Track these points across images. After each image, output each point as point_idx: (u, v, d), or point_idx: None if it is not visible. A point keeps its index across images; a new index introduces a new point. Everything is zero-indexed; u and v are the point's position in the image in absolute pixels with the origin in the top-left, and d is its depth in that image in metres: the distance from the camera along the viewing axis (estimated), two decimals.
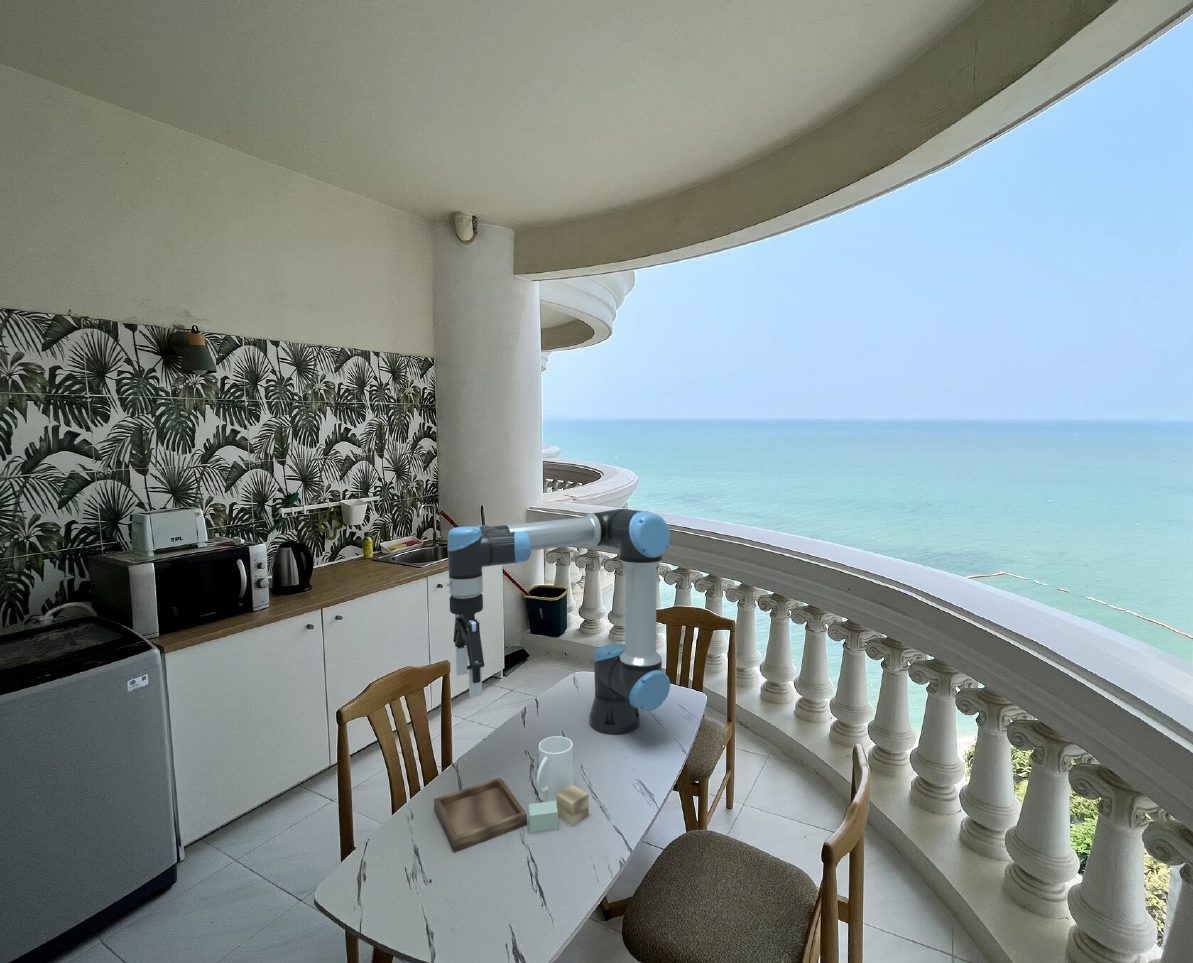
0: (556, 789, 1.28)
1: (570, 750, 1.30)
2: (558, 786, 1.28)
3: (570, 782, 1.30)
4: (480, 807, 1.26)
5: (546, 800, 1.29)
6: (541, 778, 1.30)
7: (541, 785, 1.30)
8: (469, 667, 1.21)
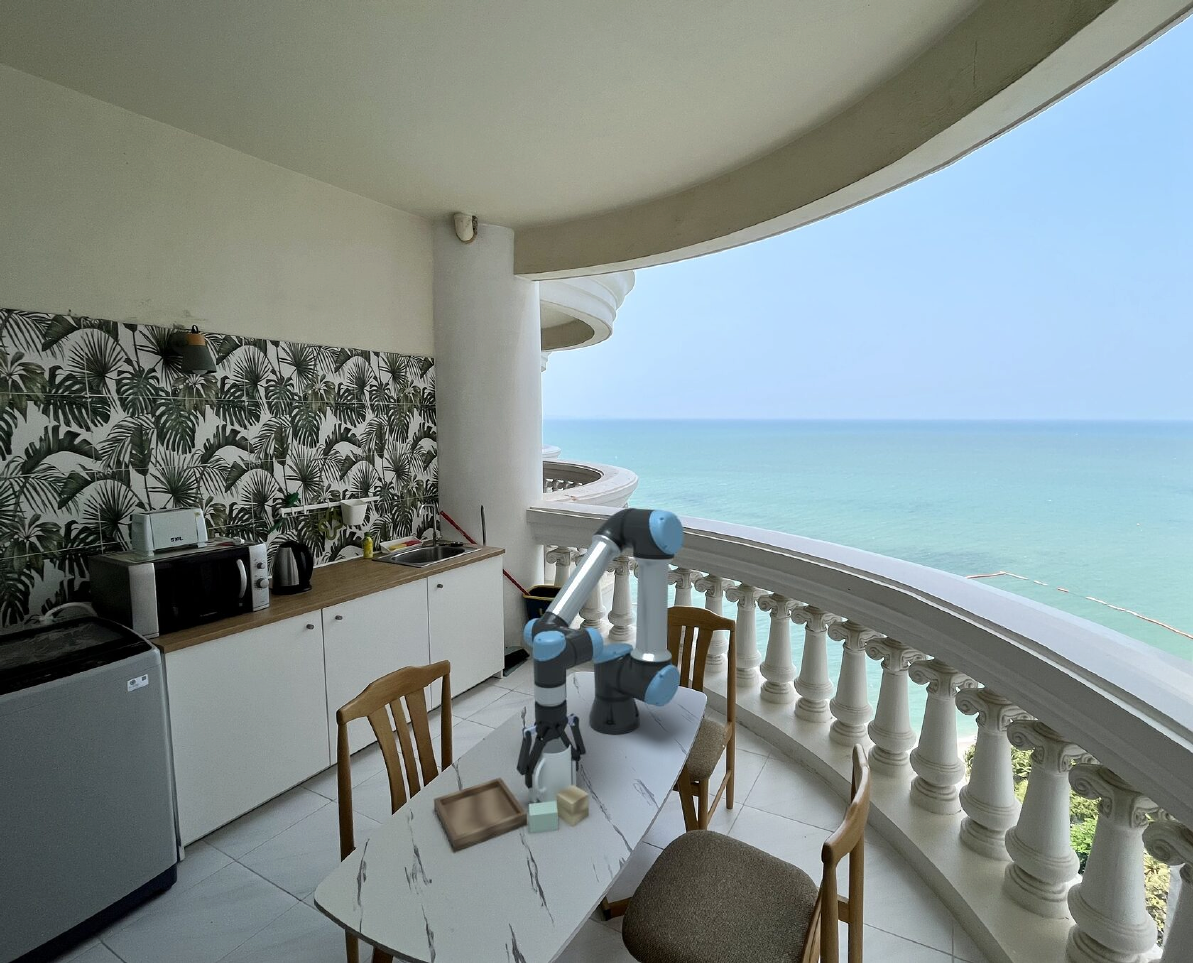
0: (555, 790, 1.28)
1: (568, 751, 1.30)
2: (556, 787, 1.28)
3: (568, 783, 1.30)
4: (480, 807, 1.26)
5: (544, 801, 1.28)
6: (539, 779, 1.30)
7: (539, 786, 1.30)
8: None
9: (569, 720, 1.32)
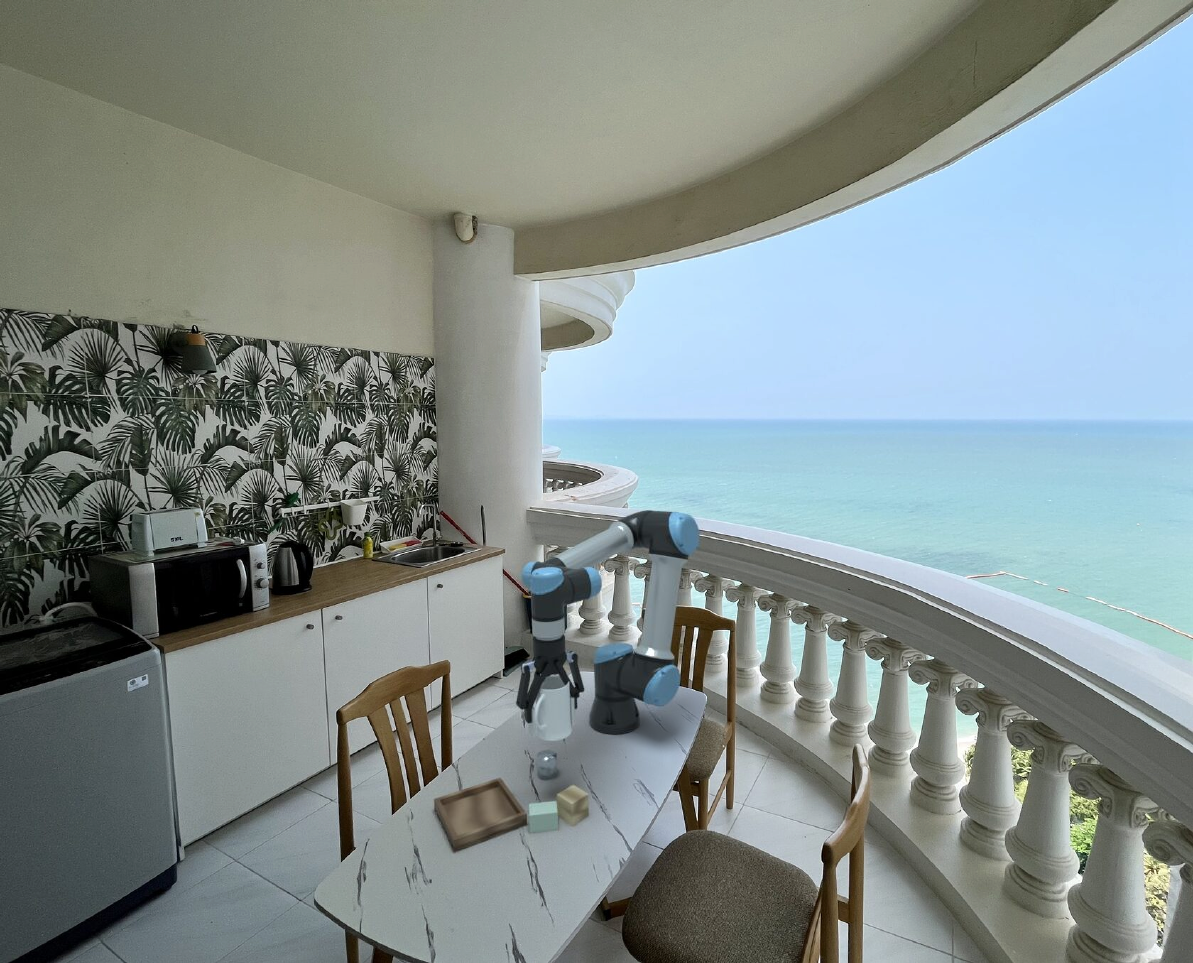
0: (554, 726, 1.27)
1: (567, 687, 1.29)
2: (556, 722, 1.27)
3: (568, 719, 1.29)
4: (480, 807, 1.26)
5: (544, 737, 1.28)
6: (538, 716, 1.29)
7: (538, 723, 1.29)
8: None
9: (568, 657, 1.32)
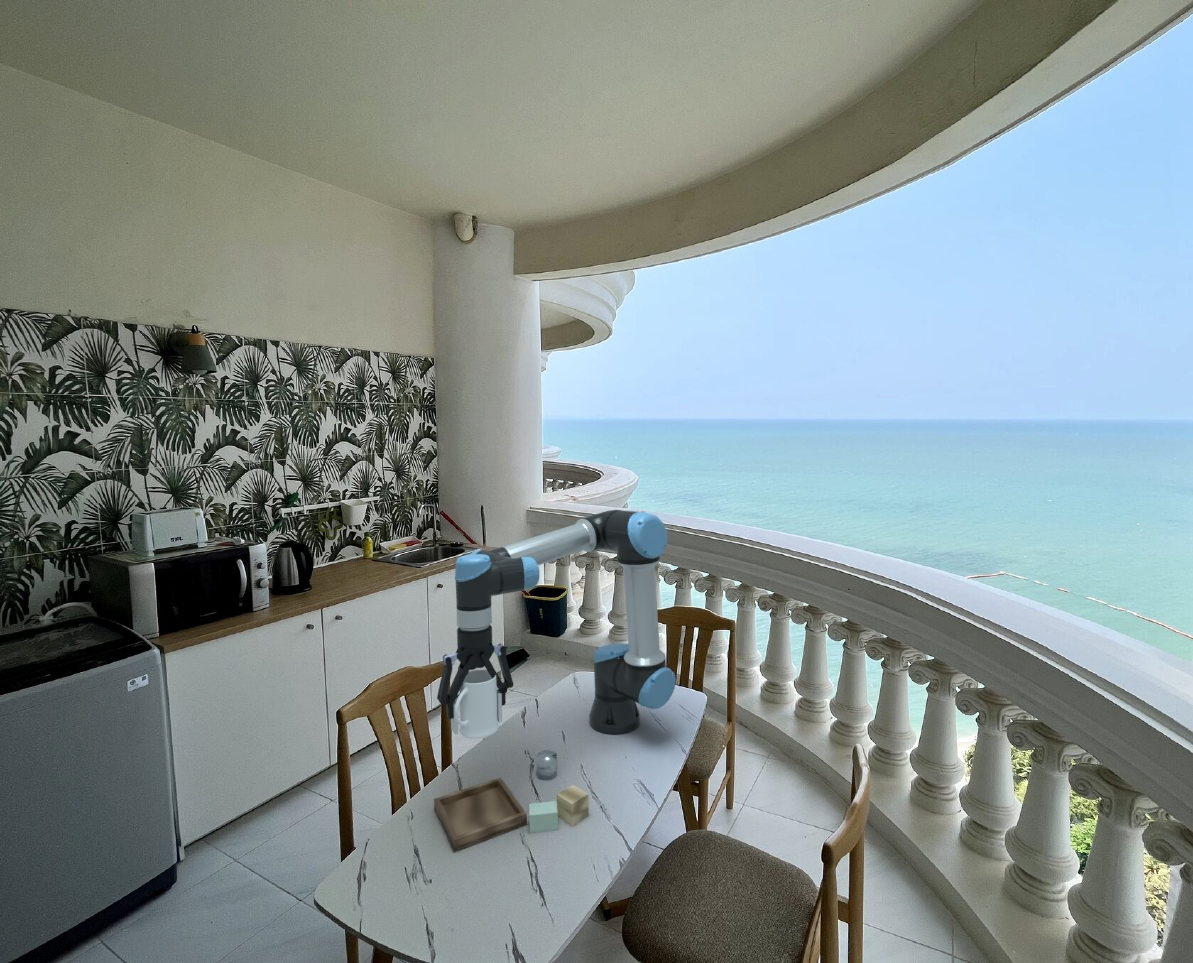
0: (477, 722, 1.20)
1: (493, 681, 1.22)
2: (479, 718, 1.20)
3: (493, 715, 1.22)
4: (480, 807, 1.26)
5: (466, 734, 1.20)
6: (461, 711, 1.21)
7: (461, 719, 1.21)
8: None
9: (495, 649, 1.24)
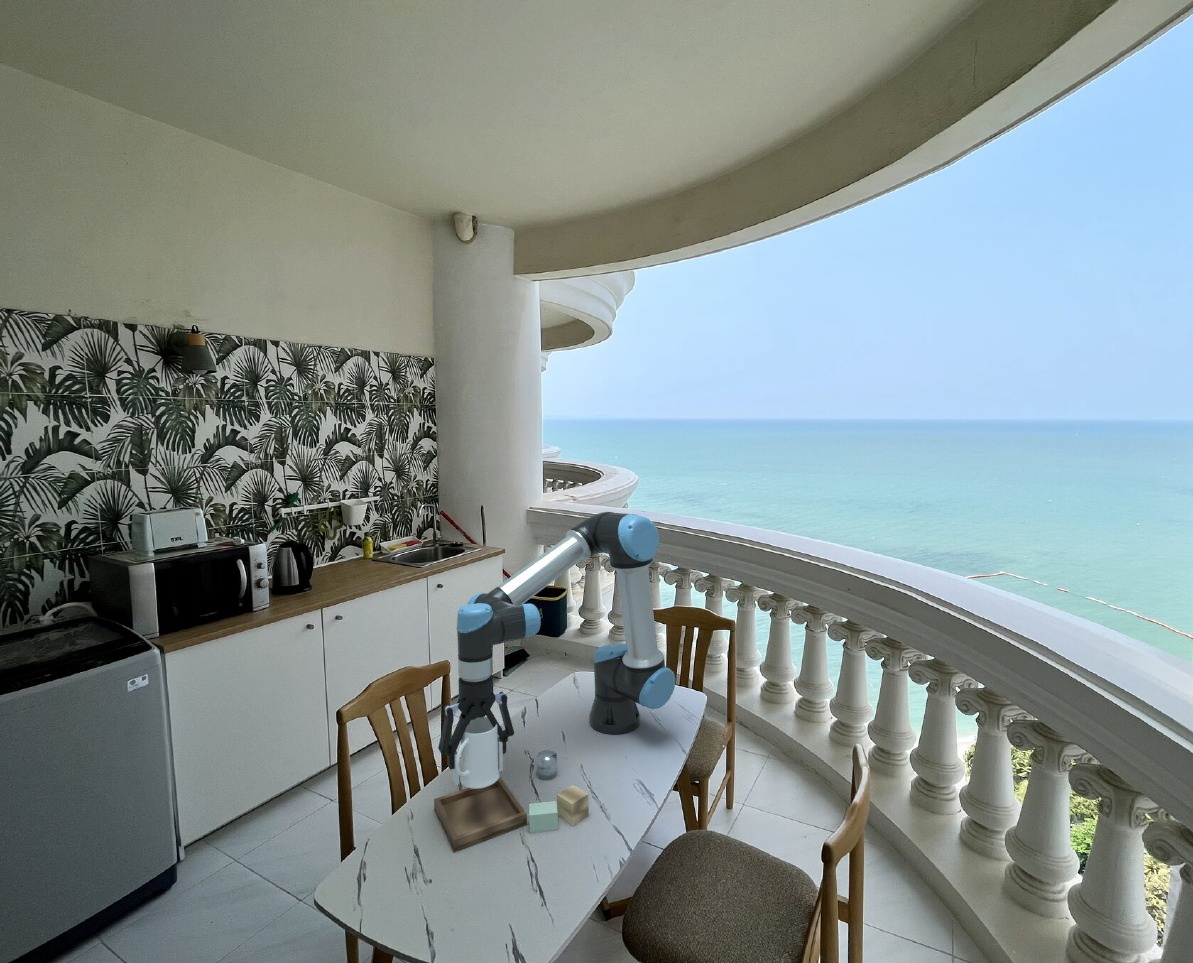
0: (478, 772, 1.20)
1: (494, 731, 1.22)
2: (480, 769, 1.20)
3: (494, 765, 1.22)
4: (480, 807, 1.26)
5: (467, 784, 1.21)
6: (462, 761, 1.22)
7: (462, 769, 1.22)
8: None
9: (496, 698, 1.25)
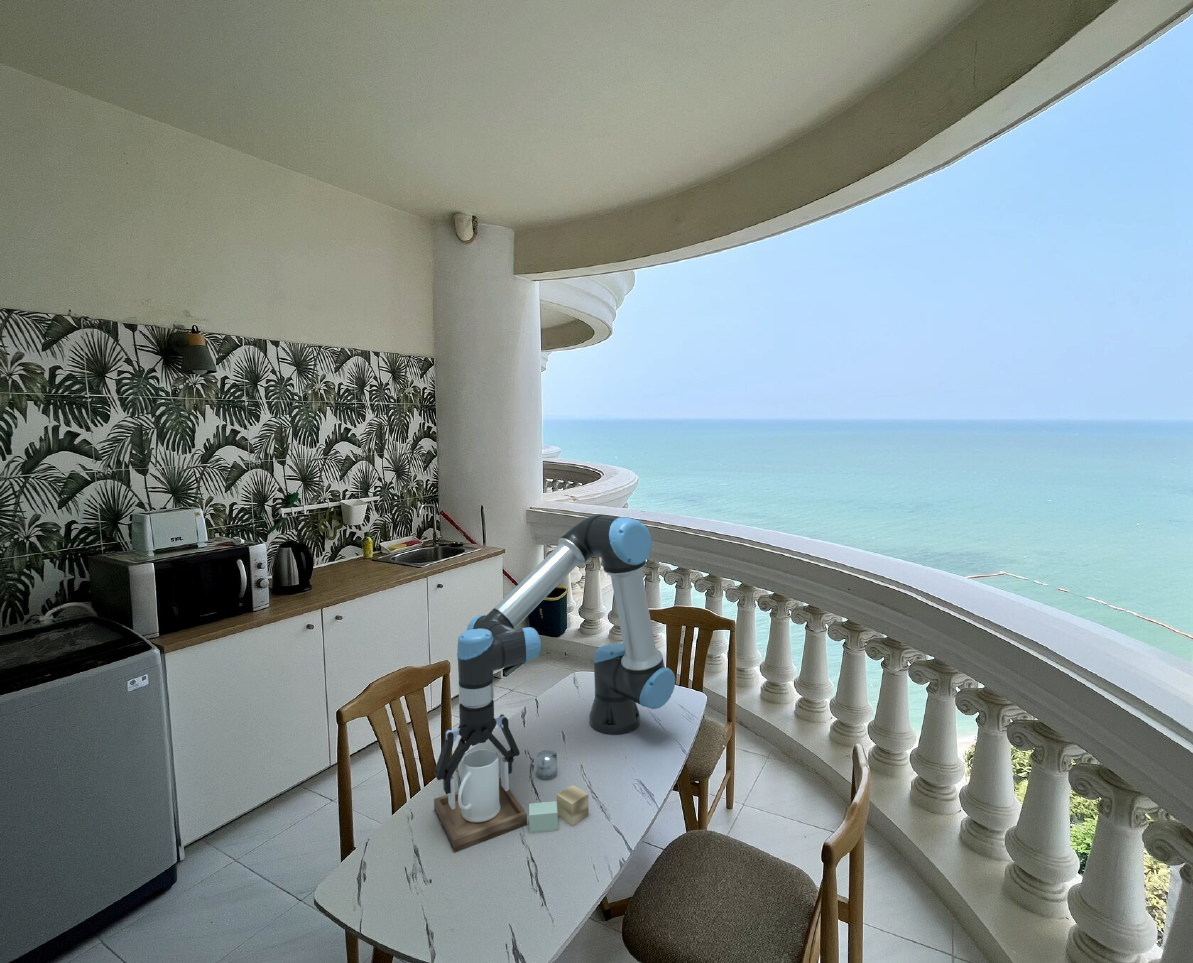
0: (480, 806, 1.21)
1: (495, 763, 1.23)
2: (482, 802, 1.21)
3: (495, 798, 1.23)
4: None
5: (469, 818, 1.21)
6: (464, 795, 1.22)
7: (464, 802, 1.22)
8: None
9: (497, 722, 1.25)
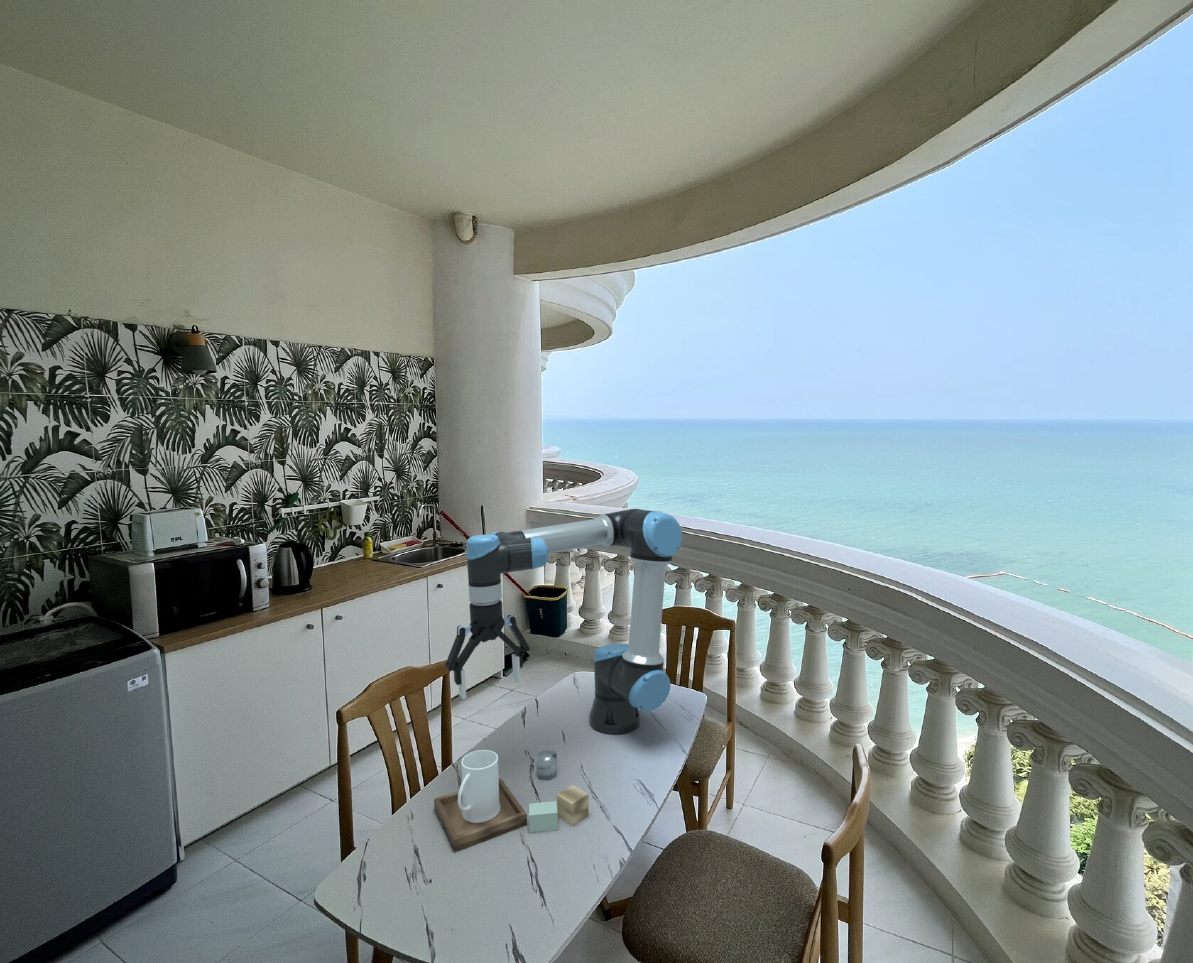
0: (480, 807, 1.21)
1: (495, 764, 1.23)
2: (482, 803, 1.21)
3: (495, 798, 1.23)
4: None
5: (469, 819, 1.21)
6: (464, 796, 1.22)
7: (464, 803, 1.22)
8: None
9: (506, 621, 1.33)
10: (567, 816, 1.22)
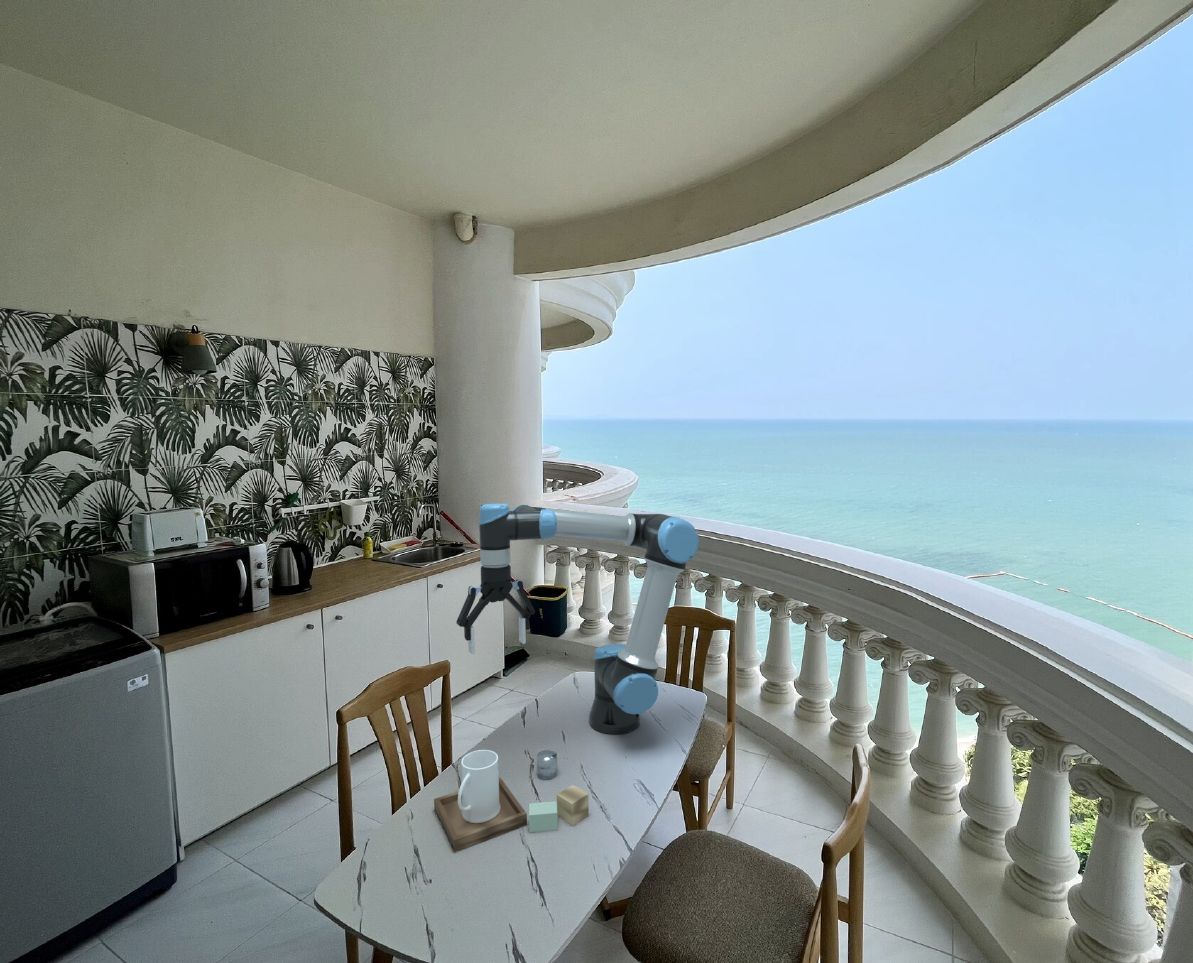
0: (480, 807, 1.21)
1: (495, 764, 1.23)
2: (482, 803, 1.21)
3: (495, 798, 1.23)
4: None
5: (469, 819, 1.21)
6: (464, 796, 1.22)
7: (464, 803, 1.22)
8: None
9: (513, 585, 1.43)
10: (567, 816, 1.22)
